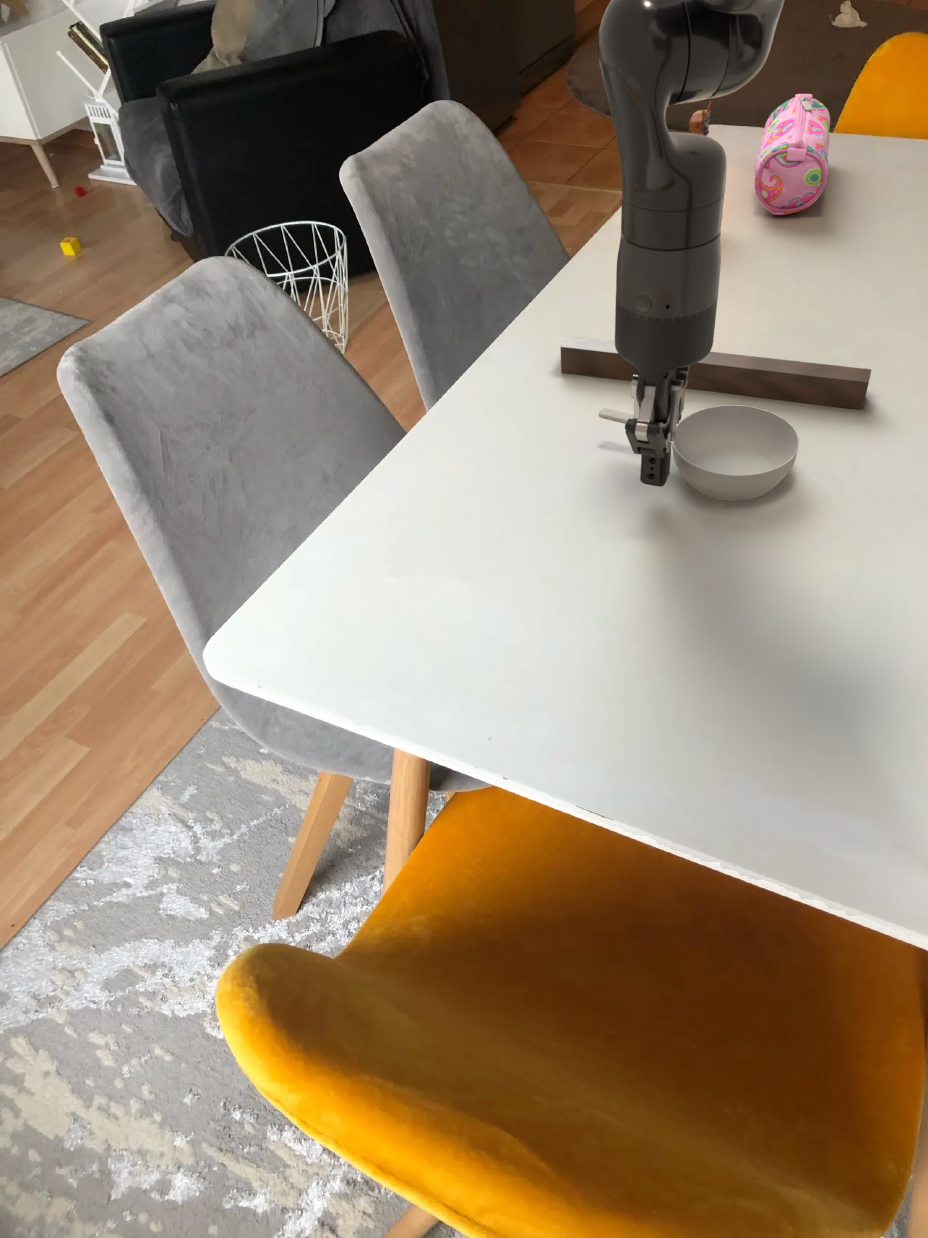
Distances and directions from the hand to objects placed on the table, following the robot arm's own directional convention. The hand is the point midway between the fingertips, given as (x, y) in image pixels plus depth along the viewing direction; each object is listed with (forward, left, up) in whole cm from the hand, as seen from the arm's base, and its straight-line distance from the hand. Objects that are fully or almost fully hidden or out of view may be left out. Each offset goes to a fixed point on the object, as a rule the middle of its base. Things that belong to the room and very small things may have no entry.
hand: (654, 480), depth 84 cm
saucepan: (-2, -6, -2) cm, 6 cm away
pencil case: (-1, -70, -2) cm, 70 cm away
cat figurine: (+10, -51, -2) cm, 52 cm away
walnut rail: (-1, -19, -2) cm, 19 cm away
